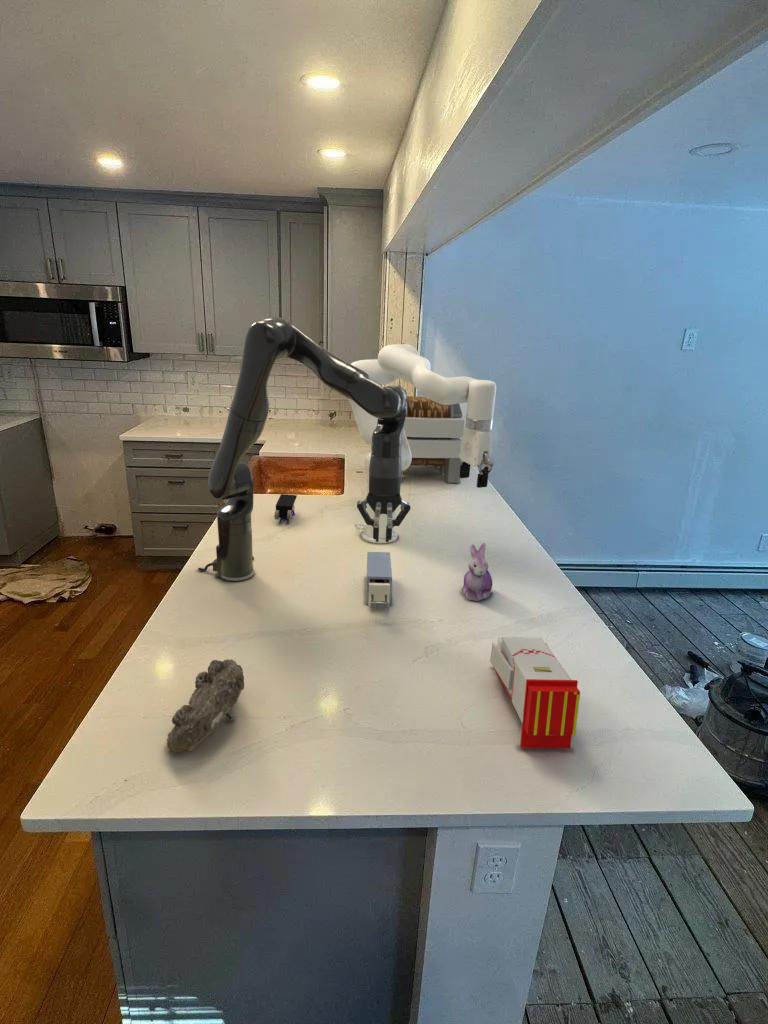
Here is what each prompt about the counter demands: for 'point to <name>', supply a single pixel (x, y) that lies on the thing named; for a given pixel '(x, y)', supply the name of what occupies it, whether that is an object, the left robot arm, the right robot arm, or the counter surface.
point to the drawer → (379, 593)
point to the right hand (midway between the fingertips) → (472, 482)
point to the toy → (537, 691)
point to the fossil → (206, 705)
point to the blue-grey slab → (378, 569)
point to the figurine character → (285, 507)
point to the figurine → (477, 576)
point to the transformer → (434, 435)
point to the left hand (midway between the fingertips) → (382, 540)
